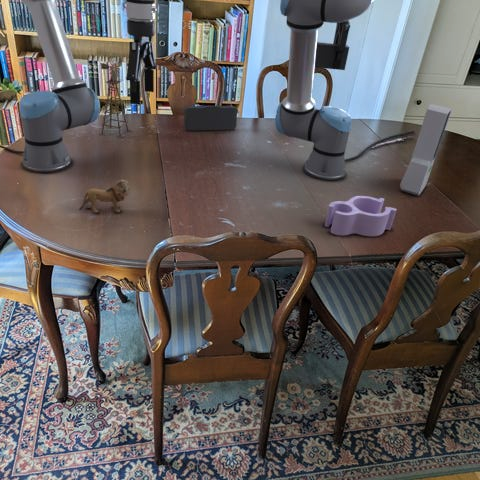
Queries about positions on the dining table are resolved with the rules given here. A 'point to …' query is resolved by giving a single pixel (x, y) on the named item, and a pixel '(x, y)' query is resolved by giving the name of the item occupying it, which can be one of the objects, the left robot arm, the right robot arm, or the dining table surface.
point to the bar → (329, 56)
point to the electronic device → (425, 149)
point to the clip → (359, 216)
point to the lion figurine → (107, 195)
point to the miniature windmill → (112, 82)
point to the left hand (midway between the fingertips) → (142, 97)
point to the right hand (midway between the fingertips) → (335, 66)
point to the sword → (389, 142)
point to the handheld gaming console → (210, 118)
